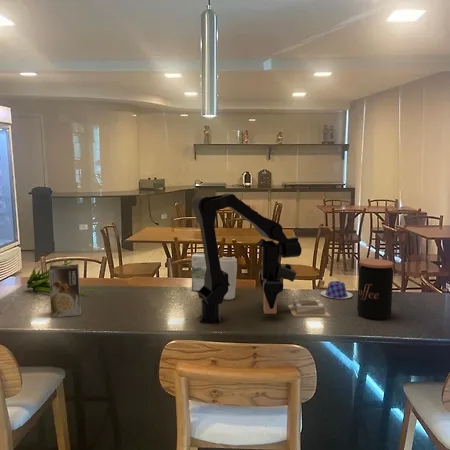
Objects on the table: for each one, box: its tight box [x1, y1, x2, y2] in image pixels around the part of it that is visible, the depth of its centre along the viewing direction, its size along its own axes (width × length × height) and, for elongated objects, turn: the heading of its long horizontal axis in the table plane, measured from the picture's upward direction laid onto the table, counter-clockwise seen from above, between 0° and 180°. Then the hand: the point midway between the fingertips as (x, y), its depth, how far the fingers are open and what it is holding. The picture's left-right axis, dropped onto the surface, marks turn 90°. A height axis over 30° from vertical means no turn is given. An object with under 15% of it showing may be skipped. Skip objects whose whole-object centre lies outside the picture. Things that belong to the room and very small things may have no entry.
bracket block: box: [263, 292, 278, 315], centre depth 147 cm, size 4×4×8 cm
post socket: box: [287, 298, 331, 318], centre depth 148 cm, size 12×12×3 cm
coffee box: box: [48, 264, 82, 319], centre depth 144 cm, size 9×6×16 cm
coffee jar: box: [356, 258, 394, 321], centre depth 143 cm, size 11×11×18 cm
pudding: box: [320, 280, 354, 299], centre depth 168 cm, size 12×12×5 cm
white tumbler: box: [219, 256, 238, 301], centre depth 162 cm, size 7×7×15 cm
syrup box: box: [191, 252, 206, 292], centre depth 174 cm, size 6×6×14 cm
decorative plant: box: [26, 257, 103, 296], centre depth 167 cm, size 18×30×15 cm, turn 42°
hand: (270, 304), depth 147 cm, fingers open, 9 cm apart
